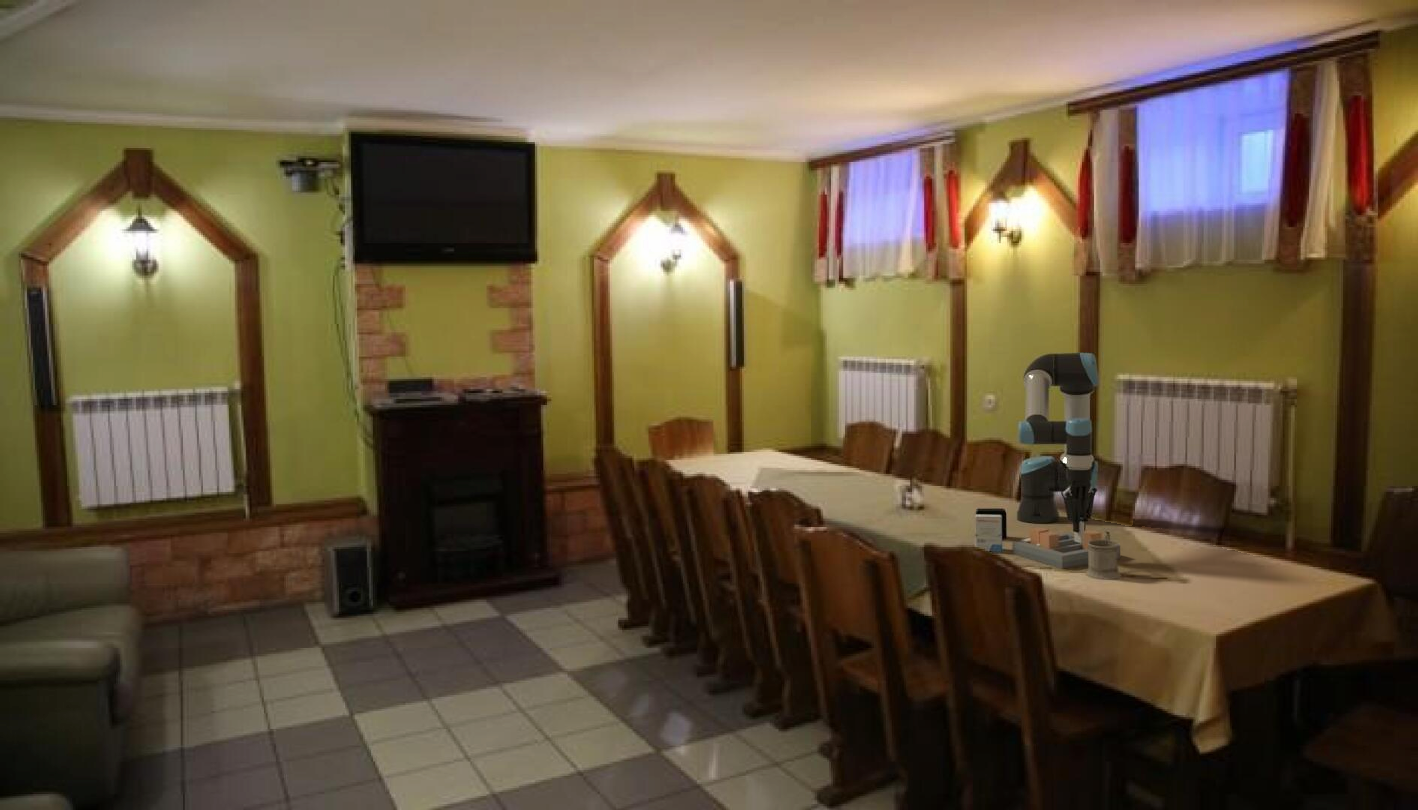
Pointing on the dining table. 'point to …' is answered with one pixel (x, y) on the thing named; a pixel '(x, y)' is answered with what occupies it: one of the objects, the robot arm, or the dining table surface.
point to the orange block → (1090, 537)
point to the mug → (1103, 559)
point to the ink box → (988, 532)
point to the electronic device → (995, 512)
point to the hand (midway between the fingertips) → (1079, 541)
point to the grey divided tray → (1055, 552)
